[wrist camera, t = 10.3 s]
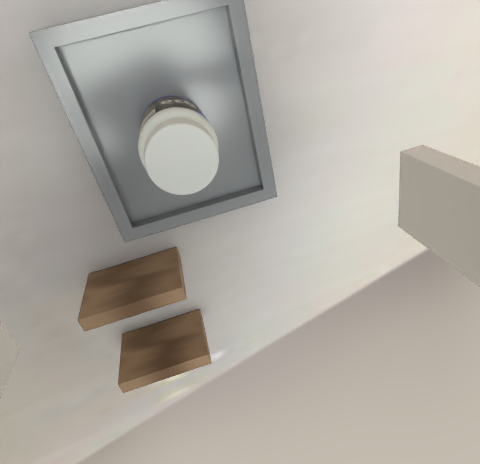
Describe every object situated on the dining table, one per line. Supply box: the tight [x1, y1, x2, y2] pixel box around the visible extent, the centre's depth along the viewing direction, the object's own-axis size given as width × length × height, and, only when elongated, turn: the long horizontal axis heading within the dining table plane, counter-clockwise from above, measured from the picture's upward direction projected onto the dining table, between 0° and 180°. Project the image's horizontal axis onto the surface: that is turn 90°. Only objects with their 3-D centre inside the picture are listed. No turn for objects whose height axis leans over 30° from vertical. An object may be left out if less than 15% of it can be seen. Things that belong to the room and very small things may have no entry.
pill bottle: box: [138, 95, 219, 195], centre depth 22 cm, size 5×5×8 cm
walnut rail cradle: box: [78, 247, 211, 393], centre depth 31 cm, size 8×9×6 cm
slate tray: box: [29, 0, 277, 242], centre depth 26 cm, size 13×15×2 cm
